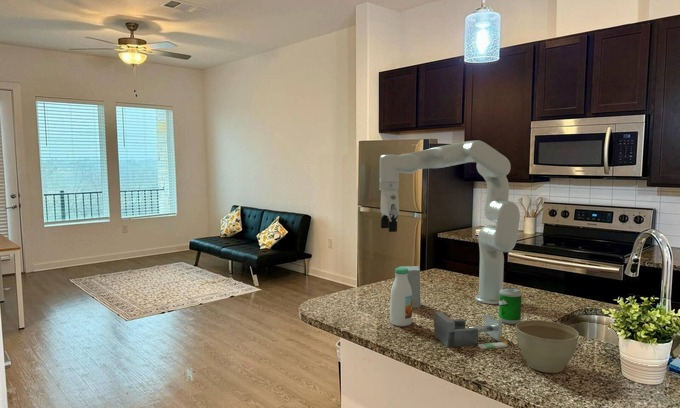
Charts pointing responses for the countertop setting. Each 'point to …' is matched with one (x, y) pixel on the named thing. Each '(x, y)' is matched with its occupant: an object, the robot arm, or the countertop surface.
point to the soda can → (510, 305)
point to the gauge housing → (453, 331)
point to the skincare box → (414, 284)
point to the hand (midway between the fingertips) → (388, 229)
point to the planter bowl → (546, 344)
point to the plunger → (491, 328)
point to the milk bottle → (401, 299)
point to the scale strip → (492, 345)
